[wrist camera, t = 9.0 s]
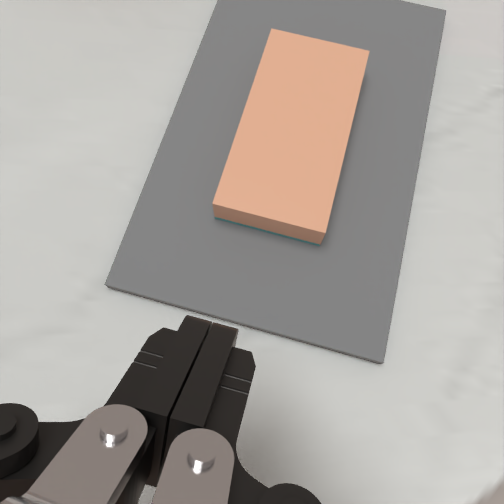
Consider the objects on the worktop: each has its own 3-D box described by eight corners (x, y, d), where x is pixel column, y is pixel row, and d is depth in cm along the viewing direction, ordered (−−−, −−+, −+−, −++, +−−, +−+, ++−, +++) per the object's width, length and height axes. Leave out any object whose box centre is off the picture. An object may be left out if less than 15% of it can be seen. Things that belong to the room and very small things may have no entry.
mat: (108, 287, 24) (104, 284, 24) (232, -29, 32) (232, -37, 31) (380, 363, 23) (383, 362, 22) (442, 17, 31) (446, 10, 30)
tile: (212, 203, 23) (271, 28, 27) (214, 218, 25) (269, 53, 29) (325, 233, 23) (369, 50, 26) (319, 246, 24) (361, 74, 28)
